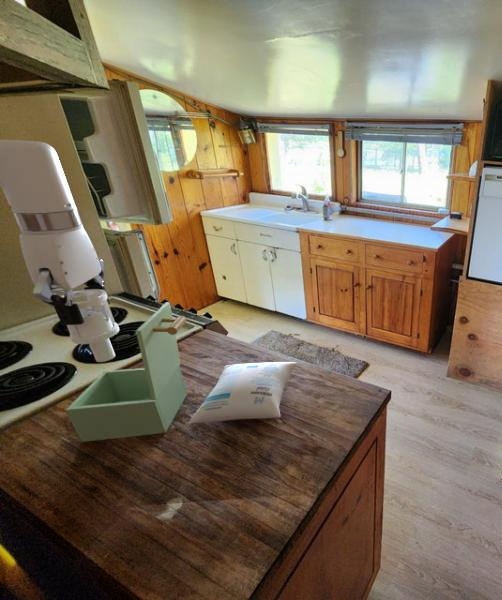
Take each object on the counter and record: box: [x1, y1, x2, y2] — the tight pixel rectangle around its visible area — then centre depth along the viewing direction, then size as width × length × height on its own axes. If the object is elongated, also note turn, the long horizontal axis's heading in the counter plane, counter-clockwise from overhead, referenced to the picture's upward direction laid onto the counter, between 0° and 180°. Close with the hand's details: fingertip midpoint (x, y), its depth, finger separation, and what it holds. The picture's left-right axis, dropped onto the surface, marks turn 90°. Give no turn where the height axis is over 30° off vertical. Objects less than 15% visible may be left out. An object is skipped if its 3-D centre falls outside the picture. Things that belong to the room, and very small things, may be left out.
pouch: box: [187, 361, 298, 424], centre depth 78 cm, size 8×19×20 cm
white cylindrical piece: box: [60, 289, 120, 363], centre depth 63 cm, size 7×7×15 cm
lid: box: [135, 301, 188, 400], centre depth 69 cm, size 16×13×5 cm
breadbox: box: [65, 366, 188, 443], centre depth 73 cm, size 16×13×9 cm
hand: (87, 313), depth 62 cm, fingers closed on white cylindrical piece, 7 cm apart
